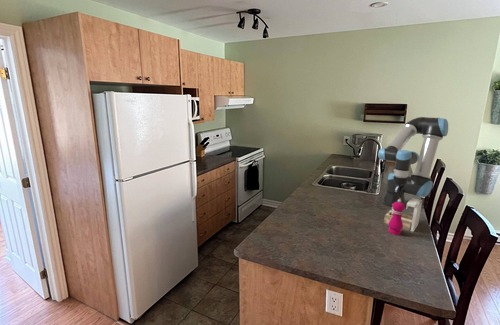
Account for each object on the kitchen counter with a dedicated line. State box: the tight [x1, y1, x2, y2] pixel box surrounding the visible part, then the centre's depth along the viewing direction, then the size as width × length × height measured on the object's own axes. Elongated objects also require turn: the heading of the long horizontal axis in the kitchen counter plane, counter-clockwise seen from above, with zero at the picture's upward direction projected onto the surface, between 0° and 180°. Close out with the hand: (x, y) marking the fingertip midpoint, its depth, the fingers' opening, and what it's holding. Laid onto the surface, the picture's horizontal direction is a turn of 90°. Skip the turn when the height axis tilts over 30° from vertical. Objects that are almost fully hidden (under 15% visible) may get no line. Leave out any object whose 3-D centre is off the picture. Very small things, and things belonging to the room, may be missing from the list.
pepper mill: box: [387, 199, 406, 236], centre depth 151 cm, size 7×7×20 cm
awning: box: [405, 197, 423, 233], centre depth 159 cm, size 12×6×16 cm, turn 137°
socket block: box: [383, 209, 413, 231], centre depth 164 cm, size 12×14×5 cm
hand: (395, 212), depth 165 cm, fingers closed on peg, 4 cm apart
